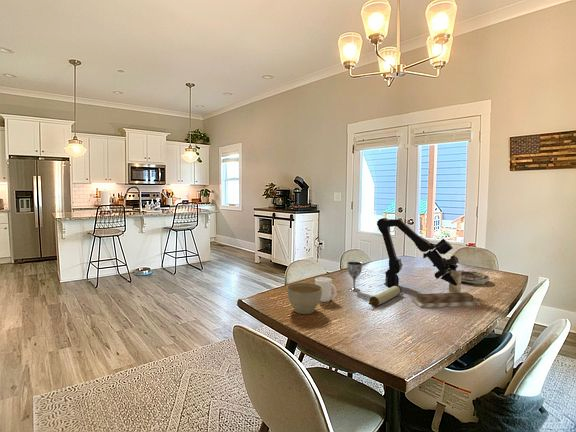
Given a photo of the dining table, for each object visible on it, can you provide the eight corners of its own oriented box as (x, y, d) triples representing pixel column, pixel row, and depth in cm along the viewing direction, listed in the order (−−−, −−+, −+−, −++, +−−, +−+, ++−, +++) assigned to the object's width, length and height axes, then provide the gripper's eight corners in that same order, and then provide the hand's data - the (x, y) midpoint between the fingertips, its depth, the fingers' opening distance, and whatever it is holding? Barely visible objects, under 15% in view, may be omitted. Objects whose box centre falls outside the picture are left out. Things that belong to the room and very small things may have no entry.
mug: (340, 300, 168) (341, 280, 167) (331, 305, 162) (331, 284, 161) (321, 295, 176) (321, 276, 175) (311, 299, 170) (311, 279, 169)
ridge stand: (420, 307, 159) (420, 298, 159) (411, 301, 168) (411, 292, 168) (479, 305, 162) (480, 296, 162) (467, 299, 171) (468, 291, 171)
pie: (482, 276, 217) (483, 268, 216) (505, 289, 190) (506, 281, 189) (437, 275, 220) (437, 267, 219) (453, 288, 193) (454, 279, 192)
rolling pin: (374, 310, 156) (374, 299, 156) (363, 307, 160) (364, 297, 160) (405, 294, 179) (405, 285, 179) (395, 292, 183) (395, 283, 183)
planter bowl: (311, 320, 144) (312, 295, 143) (280, 312, 152) (280, 289, 152) (327, 308, 158) (328, 285, 157) (298, 302, 166) (298, 280, 165)
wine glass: (352, 292, 181) (353, 265, 179) (343, 288, 188) (344, 262, 186) (364, 290, 184) (365, 263, 183) (355, 287, 191) (355, 261, 190)
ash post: (448, 296, 176) (449, 271, 175) (451, 294, 179) (452, 270, 178) (457, 298, 173) (458, 273, 172) (460, 296, 176) (461, 271, 175)
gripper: (441, 253, 170) (464, 279, 163) (455, 248, 183) (476, 272, 176) (425, 266, 176) (446, 291, 169) (439, 260, 189) (459, 284, 183)
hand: (457, 284), depth 174 cm, fingers closed on ash post, 4 cm apart
